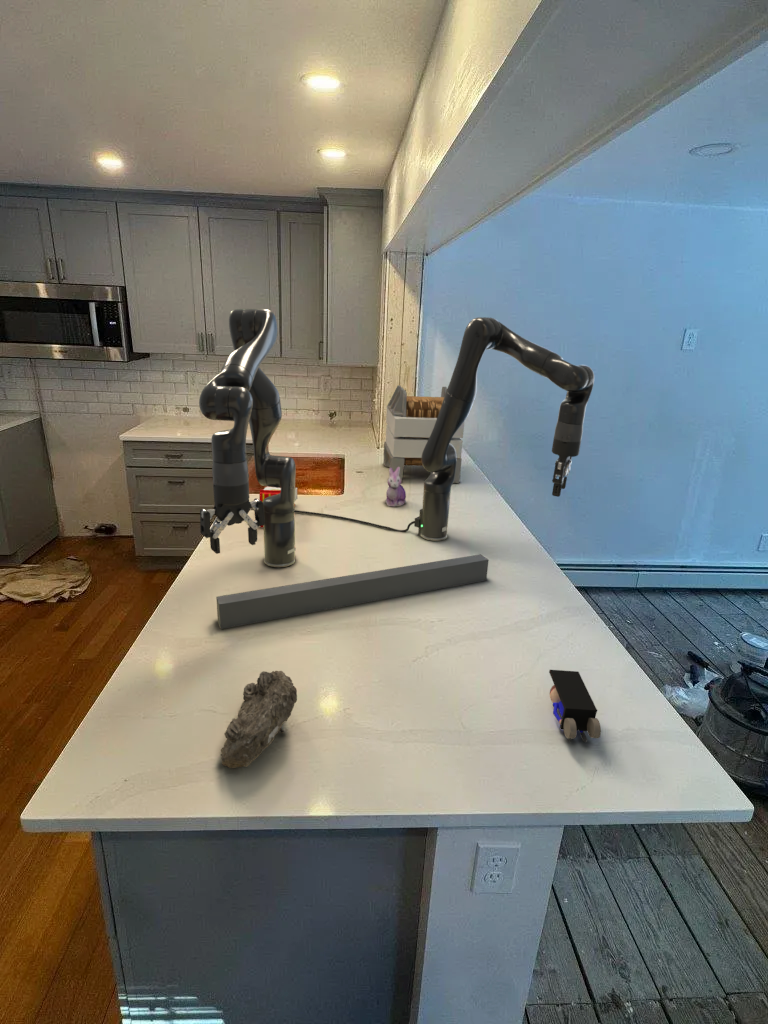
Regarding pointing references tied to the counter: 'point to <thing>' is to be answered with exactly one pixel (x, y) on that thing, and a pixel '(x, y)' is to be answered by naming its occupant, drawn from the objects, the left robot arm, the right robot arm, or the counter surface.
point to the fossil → (258, 718)
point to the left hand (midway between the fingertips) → (234, 548)
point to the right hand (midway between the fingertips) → (558, 492)
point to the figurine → (395, 489)
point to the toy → (269, 492)
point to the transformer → (414, 430)
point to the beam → (347, 590)
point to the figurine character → (573, 705)
